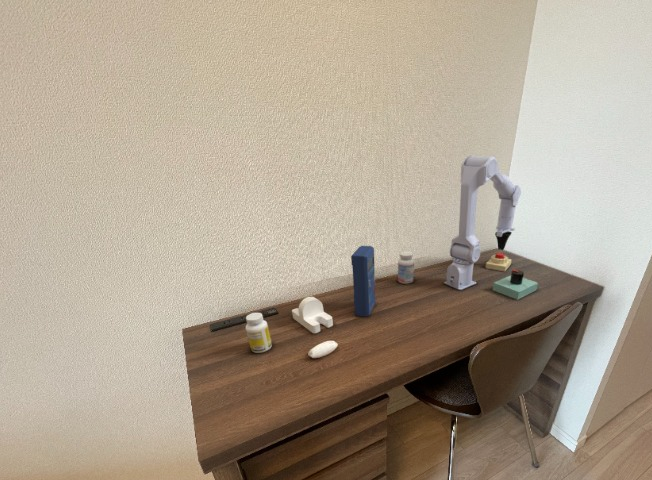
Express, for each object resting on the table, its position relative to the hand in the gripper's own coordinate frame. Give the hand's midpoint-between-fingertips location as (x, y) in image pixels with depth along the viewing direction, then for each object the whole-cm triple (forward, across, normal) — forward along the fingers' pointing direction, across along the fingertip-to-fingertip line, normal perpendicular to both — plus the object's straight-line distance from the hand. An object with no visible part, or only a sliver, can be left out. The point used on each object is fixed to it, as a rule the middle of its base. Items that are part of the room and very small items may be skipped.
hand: (500, 249), depth 133 cm
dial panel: (+7, -21, -11) cm, 25 cm away
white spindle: (+8, -86, +22) cm, 89 cm away
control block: (+7, 0, 0) cm, 7 cm away
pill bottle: (+8, -34, +26) cm, 44 cm away
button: (+4, 0, 0) cm, 4 cm away
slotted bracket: (+8, -75, +36) cm, 84 cm away
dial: (+4, -21, -11) cm, 24 cm away
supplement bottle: (+8, -93, +38) cm, 100 cm away
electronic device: (+8, -61, +26) cm, 67 cm away
